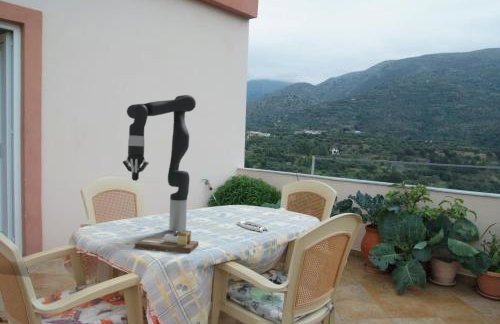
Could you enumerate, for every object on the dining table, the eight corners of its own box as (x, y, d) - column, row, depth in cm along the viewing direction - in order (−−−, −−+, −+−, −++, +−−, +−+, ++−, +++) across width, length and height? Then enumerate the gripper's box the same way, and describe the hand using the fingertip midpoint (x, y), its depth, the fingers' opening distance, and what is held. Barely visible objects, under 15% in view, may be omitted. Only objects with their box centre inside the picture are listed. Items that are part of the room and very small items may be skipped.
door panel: (146, 241, 170) (146, 236, 170) (198, 245, 166) (198, 241, 166) (134, 247, 158) (135, 243, 158) (190, 252, 154) (190, 247, 154)
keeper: (182, 241, 164) (182, 230, 164) (190, 242, 164) (191, 231, 164) (177, 245, 157) (177, 233, 157) (185, 246, 157) (186, 234, 157)
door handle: (246, 223, 223) (271, 231, 203) (233, 225, 217) (258, 233, 197) (246, 219, 223) (272, 227, 203) (233, 220, 217) (258, 228, 197)
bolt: (166, 240, 163) (166, 229, 163) (187, 242, 162) (187, 231, 162) (163, 242, 160) (164, 231, 160) (184, 243, 159) (185, 232, 159)
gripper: (152, 145, 174) (151, 180, 175) (127, 144, 176) (126, 179, 177) (145, 145, 167) (144, 181, 167) (119, 144, 169) (118, 180, 169)
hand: (135, 180), depth 172 cm, fingers closed
